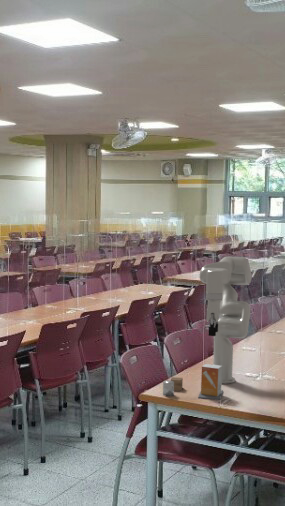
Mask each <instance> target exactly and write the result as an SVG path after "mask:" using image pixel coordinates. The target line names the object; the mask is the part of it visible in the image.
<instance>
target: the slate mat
mask: <svg viewBox="0 0 285 506" xmlns="http://www.w3.org/2000/svg"><path fill="white" fill-rule="evenodd" d="M223 393H224V390H222V389H221V394H220V395H218V396H212V395H205V394H201V391H200V392H199V394H198V396H197V398H198V399H203V400H215V401H221V400H222V396H223Z"/></svg>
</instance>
